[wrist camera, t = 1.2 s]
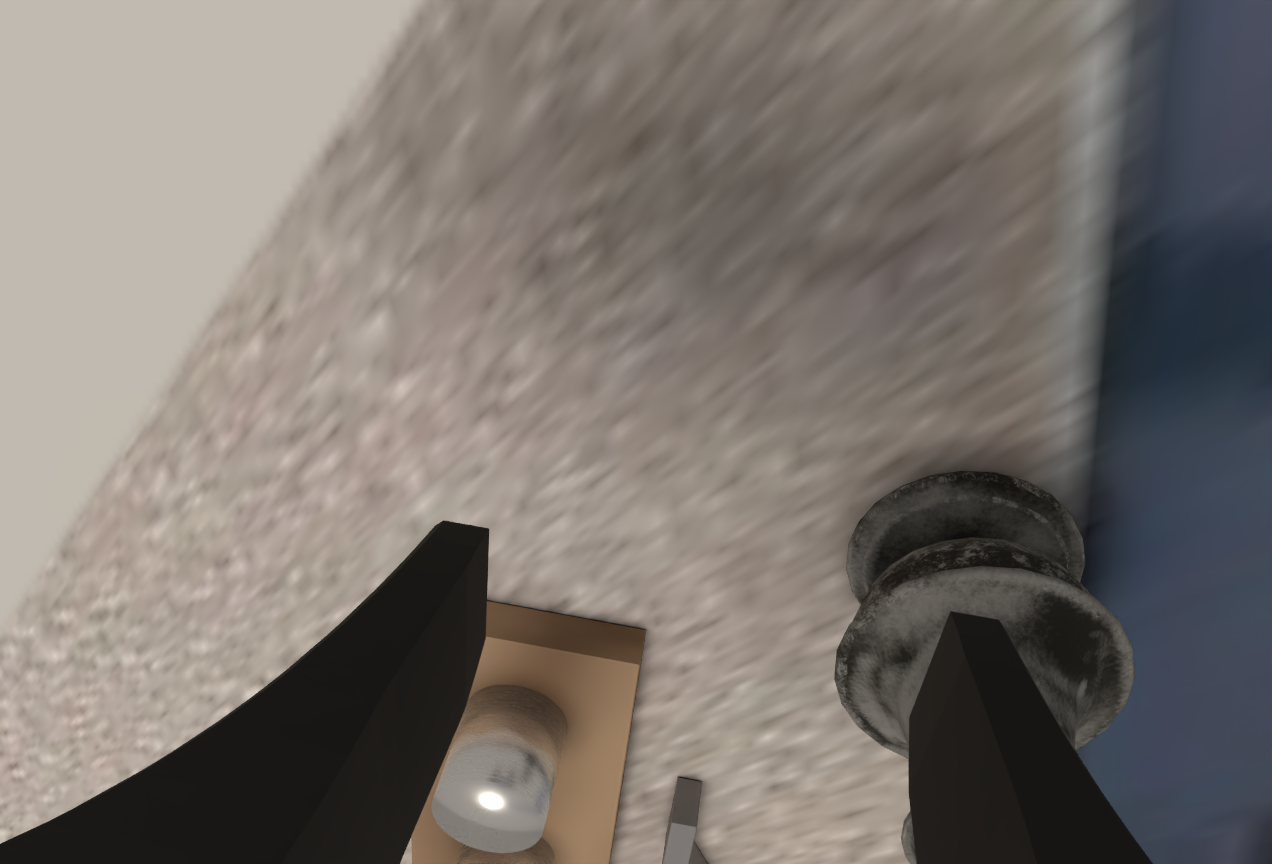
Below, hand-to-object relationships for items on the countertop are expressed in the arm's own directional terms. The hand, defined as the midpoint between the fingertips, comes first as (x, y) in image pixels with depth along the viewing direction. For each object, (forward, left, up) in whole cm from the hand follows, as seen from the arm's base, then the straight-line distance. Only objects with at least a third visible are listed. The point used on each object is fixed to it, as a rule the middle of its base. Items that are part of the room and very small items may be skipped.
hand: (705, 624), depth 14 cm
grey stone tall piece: (-6, +6, -10) cm, 13 cm away
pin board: (+4, +16, -9) cm, 19 cm away
